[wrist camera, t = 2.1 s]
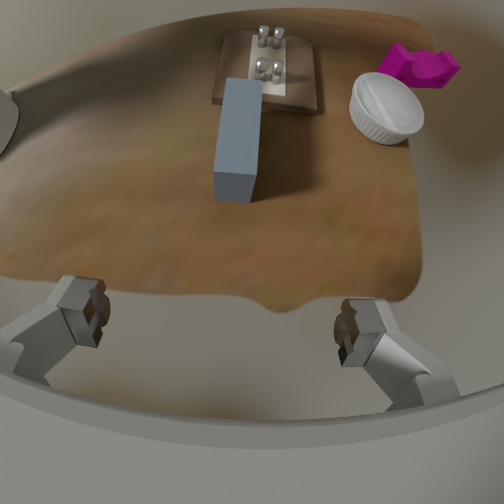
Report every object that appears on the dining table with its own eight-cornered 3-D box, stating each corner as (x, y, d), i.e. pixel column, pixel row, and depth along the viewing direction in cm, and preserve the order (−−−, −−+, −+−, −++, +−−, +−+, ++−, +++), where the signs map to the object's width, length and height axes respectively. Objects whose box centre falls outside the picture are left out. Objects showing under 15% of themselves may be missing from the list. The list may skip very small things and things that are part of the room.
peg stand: (212, 104, 37) (211, 77, 32) (225, 35, 40) (226, 11, 35) (314, 115, 38) (325, 91, 33) (309, 45, 41) (317, 22, 36)
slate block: (215, 200, 35) (213, 171, 27) (225, 117, 37) (226, 77, 29) (249, 203, 35) (256, 175, 27) (255, 119, 37) (263, 80, 30)
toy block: (425, 65, 44) (442, 43, 37) (441, 88, 43) (461, 67, 36) (369, 61, 42) (385, 33, 35) (386, 87, 41) (405, 60, 34)
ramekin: (328, 116, 39) (340, 94, 33) (362, 81, 41) (374, 61, 36) (391, 166, 38) (409, 149, 33) (416, 124, 40) (433, 107, 35)
